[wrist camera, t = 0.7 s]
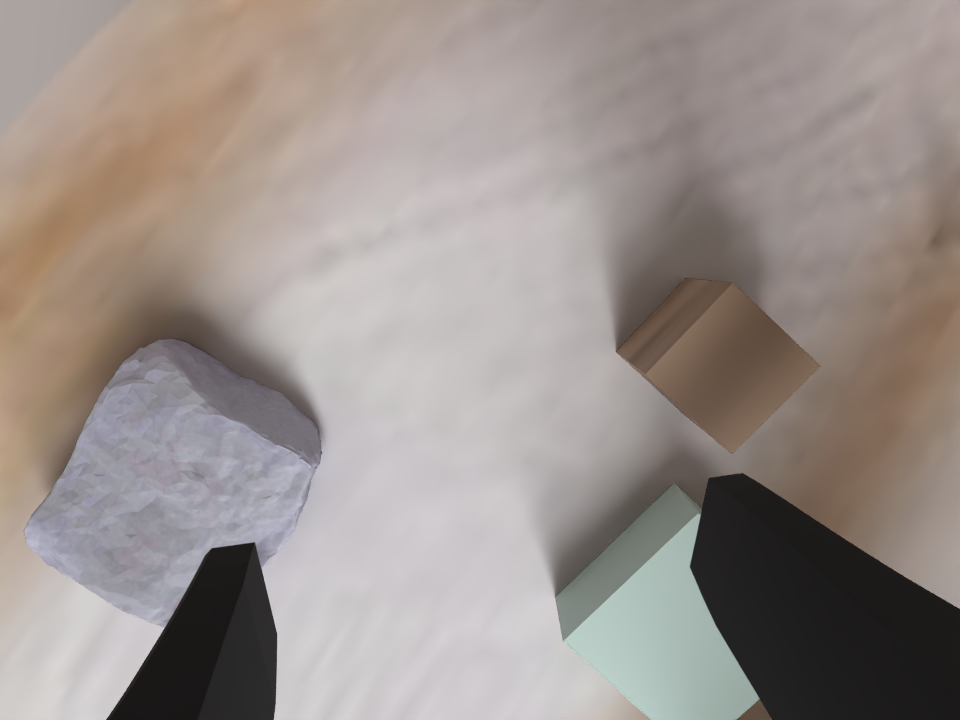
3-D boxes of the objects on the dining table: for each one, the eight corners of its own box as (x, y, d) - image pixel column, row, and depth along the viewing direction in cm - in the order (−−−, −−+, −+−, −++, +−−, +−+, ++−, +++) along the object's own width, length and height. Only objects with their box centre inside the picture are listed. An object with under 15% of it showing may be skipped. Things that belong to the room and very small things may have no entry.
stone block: (350, 418, 33) (159, 315, 30) (344, 460, 28) (118, 343, 26) (236, 598, 35) (47, 517, 32) (212, 664, 30) (-9, 575, 28)
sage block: (788, 590, 32) (829, 636, 28) (669, 698, 33) (693, 757, 29) (672, 480, 31) (698, 513, 27) (554, 594, 32) (563, 641, 28)
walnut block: (756, 344, 30) (820, 366, 24) (686, 416, 31) (732, 453, 25) (685, 278, 30) (732, 282, 24) (615, 351, 30) (645, 374, 24)
